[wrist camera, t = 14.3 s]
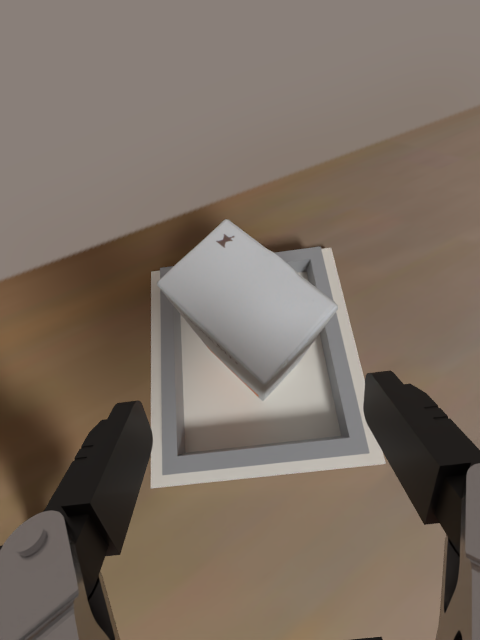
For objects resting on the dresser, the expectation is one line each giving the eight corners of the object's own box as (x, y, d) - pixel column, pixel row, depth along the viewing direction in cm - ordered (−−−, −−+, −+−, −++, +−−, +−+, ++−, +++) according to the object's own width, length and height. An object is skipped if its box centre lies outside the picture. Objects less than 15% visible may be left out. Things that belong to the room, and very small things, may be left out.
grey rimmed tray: (156, 485, 20) (138, 495, 17) (155, 276, 26) (142, 259, 23) (379, 461, 20) (399, 469, 17) (328, 254, 25) (336, 233, 23)
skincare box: (206, 349, 22) (149, 280, 11) (244, 312, 23) (226, 212, 12) (263, 405, 21) (264, 389, 9) (301, 363, 21) (344, 301, 10)
